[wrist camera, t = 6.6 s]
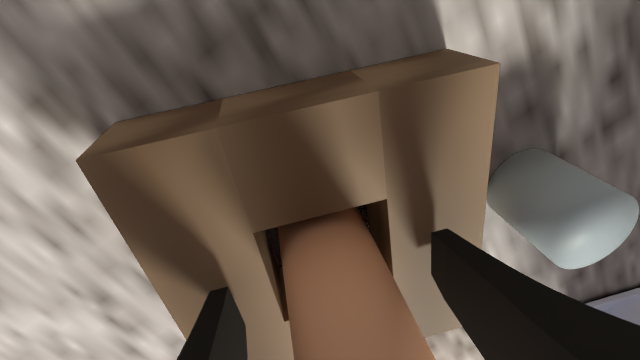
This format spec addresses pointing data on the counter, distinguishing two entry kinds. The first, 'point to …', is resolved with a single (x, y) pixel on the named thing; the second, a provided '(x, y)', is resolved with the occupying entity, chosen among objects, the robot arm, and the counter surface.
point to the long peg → (344, 294)
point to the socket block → (302, 183)
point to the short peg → (561, 208)
